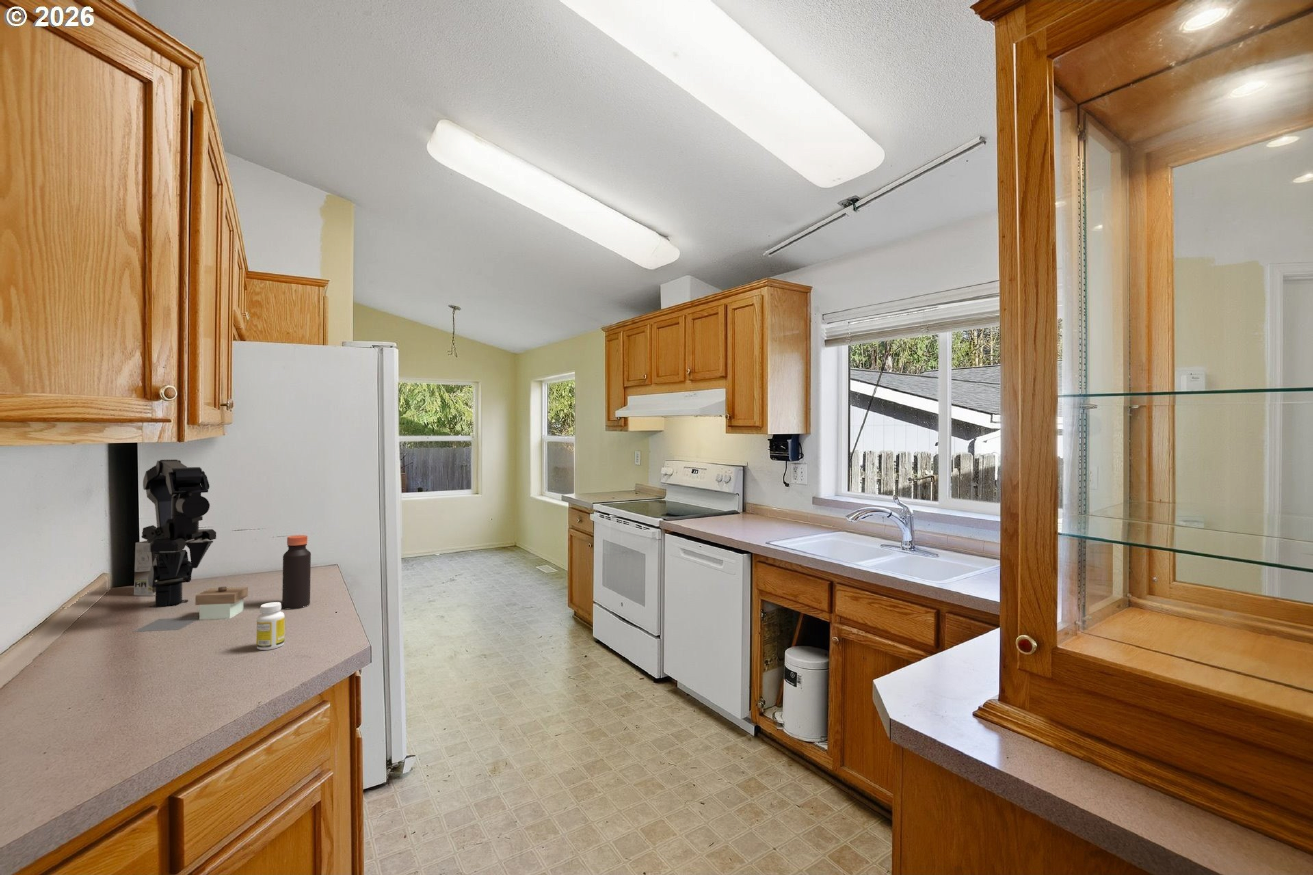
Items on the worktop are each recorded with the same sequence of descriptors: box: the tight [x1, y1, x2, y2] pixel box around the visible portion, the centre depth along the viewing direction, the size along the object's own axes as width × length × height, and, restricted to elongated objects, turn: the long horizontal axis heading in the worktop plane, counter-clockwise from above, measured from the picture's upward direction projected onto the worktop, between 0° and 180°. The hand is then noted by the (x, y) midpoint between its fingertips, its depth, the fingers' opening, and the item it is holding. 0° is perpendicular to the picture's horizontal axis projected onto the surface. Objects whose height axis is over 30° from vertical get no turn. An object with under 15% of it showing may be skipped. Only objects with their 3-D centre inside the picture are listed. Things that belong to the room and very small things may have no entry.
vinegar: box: [281, 534, 312, 609], centre depth 163 cm, size 7×7×20 cm
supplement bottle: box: [256, 601, 286, 651], centre depth 132 cm, size 5×5×10 cm
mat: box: [132, 616, 199, 633], centre depth 144 cm, size 10×10×1 cm
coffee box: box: [133, 540, 157, 597], centre depth 174 cm, size 9×6×16 cm
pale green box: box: [198, 598, 244, 621], centre depth 152 cm, size 7×7×4 cm
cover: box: [194, 586, 249, 606], centre depth 152 cm, size 7×9×4 cm
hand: (184, 572), depth 152 cm, fingers open, 9 cm apart
